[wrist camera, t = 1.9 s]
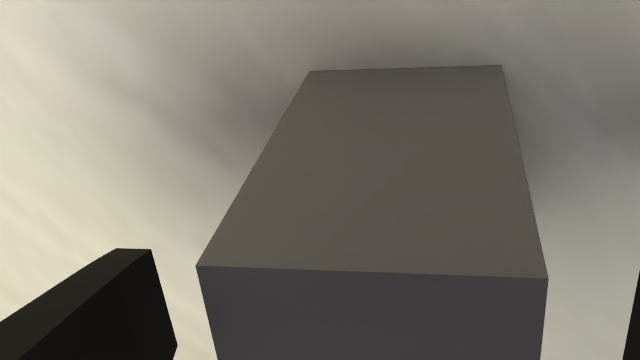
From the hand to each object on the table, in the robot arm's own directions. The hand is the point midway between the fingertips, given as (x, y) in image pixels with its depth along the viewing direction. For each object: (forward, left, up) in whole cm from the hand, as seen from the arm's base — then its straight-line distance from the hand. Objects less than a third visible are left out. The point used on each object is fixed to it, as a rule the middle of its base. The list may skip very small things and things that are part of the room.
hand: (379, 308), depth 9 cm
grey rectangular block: (0, 0, -5) cm, 5 cm away
